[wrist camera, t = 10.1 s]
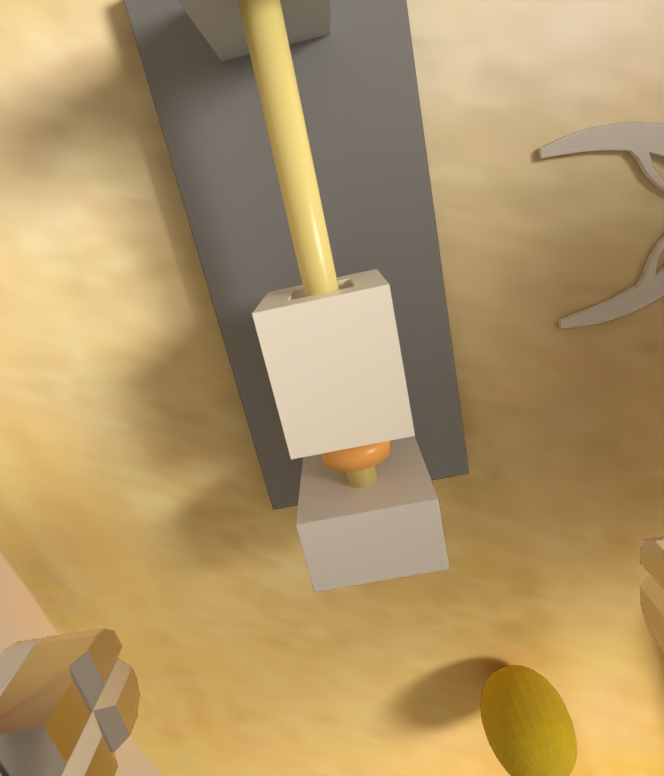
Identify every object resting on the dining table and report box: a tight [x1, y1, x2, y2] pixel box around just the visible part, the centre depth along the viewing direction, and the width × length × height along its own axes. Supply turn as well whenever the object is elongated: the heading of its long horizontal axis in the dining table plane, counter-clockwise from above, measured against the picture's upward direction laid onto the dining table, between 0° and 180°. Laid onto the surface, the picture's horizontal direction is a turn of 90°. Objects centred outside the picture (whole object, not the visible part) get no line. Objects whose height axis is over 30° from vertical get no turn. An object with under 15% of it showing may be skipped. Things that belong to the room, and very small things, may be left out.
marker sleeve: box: [252, 269, 415, 459], centre depth 21 cm, size 5×6×5 cm
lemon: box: [480, 665, 577, 776], centre depth 32 cm, size 6×6×8 cm
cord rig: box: [124, 0, 469, 592], centre depth 21 cm, size 12×27×12 cm, turn 12°
